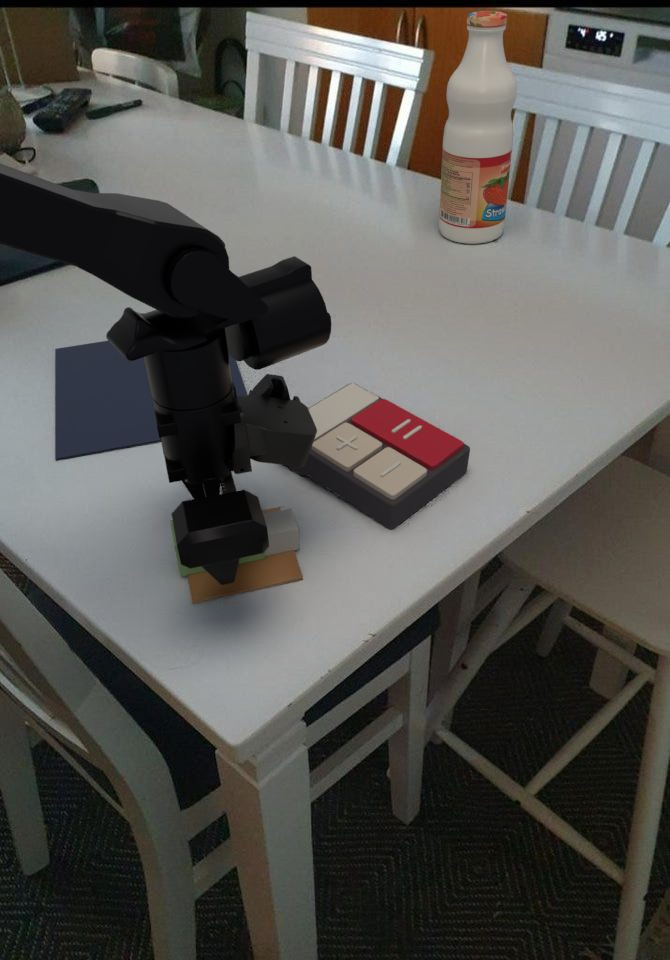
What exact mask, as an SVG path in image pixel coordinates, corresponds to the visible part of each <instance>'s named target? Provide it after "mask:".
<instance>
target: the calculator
mask: <svg viewBox="0 0 670 960" xmlns="http://www.w3.org/2000/svg"><path fill="white" fill-rule="evenodd" d="M307 408H308V410H309V412H310V414H311V417H312V419H313V421H314V424H315V426H316V428H317V433H316V436H315V439H314V442H313V445H312V448H311V451H310V453H309V456H308V459H307V462H306V465H305V466H304V467H302V468H292V467H290V466H289V465H285V466H286V467H287V468H288V469H290V470H291V471H293V472H294V473H296V474H298V475H299V476H308V477H309V478H311V479H313V480H314V481H316V482H317V483H318V484H319V485H322V486H323V487H325V488H326V489H328V490H329V491H331V492H332V493H334V494H335V495H337V496H338V497H340V498H341V499H343V500H345V501H346V502H347V503H349V504H350V505H352V506H354V507H355V508H356V509H358V510H359V511H361V512H363V513H364V514H366V515H367V516H369V517H370V518H372V519H373V520H374V521H377V522H378V523H380V525H382V526H384V527H386V528H387V529H390V530H394V529H395V528H397V527H398V526H400V525H401V524H402V523H403V522H405V521H406V520H407V519H409V518H410V517H411V516H412V515H414V514H415V513H416V512H418V511H419V510H420V509H421V508H422V507H424V506H425V505H426V504H428V503H430V502H431V500H433V499H434V498H436V497H437V496H438V495H440V494H441V493H442V492H444V491H445V490H446V489H447V488H449V487H450V486H451V485H452V484H454V483H455V482H456V481H458V480H459V479H461V477H463V476H464V475H466V473H467V472H468V466H469V459H470V452H471V447H470V445H468V444H466V443H465V442H464V441H463V440H461V439H459V438H458V437H456V436H454V435H452V434H450V433H448V432H446V431H445V430H443V429H441V428H440V427H437V426H435V425H434V424H433V423H430V422H428V421H426V420H424V419H423V418H421V417H419V416H417V415H415V414H414V413H412V412H410V411H408V410H406V409H405V408H402V407H401V406H399V405H397V404H395V403H394V402H392V401H390V400H388V399H385V398H383V397H380V396H378V395H377V394H375V393H373V392H371V391H369V390H367V389H366V388H364V387H363V386H361V385H358V384H357V383H355V382H350V383H348V384H346V385H344V386H343V387H341V388H340V389H338V390H337V391H335V392H333V393H331V394H330V395H328V396H327V397H324V398H323V399H322V400H321V399H320V401H318V402H317V403H314V404H312V405H311V406H310V407H307Z"/></svg>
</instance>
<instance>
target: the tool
mask: <svg viewBox="0 0 670 960" xmlns="http://www.w3.org/2000/svg"><path fill="white" fill-rule="evenodd" d="M263 515H264V519H265V522H266V525H267V531H268V539H269V547H268V548H267V549H266V551H265V552H264V553H262V554H258V555H253V556H248V557H243V558H240V560H239V564H242V563H247V562H251V561H256V560H261V559H265V556H268V555H273V554H278V553H283V552H287V551H292V550H294V551H297V550H301V549H300V537H299V527H298V524H297V521H296V519H295V515H294V513H293V510H292V508H286V509H281V510H280V511H275V512H270V513H265V514H263ZM169 522H170V526H171V527H170V528H171V534H172V541H173V546H174V552H175V555H176V560H177V565H178V569H179V574H180V576H181V577H185V576H187V575H190V574H195V573H200V572H204V571H206V570H205V569H203V568H202V567H201V566H200V567H196V568H191V569H190V568H187V567H185V566H183V565H181V562H180V558H179V553H178V549H177V544H176V538H175V532H174V526H173V520H172V519H171V520H170V521H169Z"/></svg>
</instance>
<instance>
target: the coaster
mask: <svg viewBox="0 0 670 960" xmlns="http://www.w3.org/2000/svg"><path fill="white" fill-rule="evenodd" d="M280 510H282V509H281V507H280V506H276V507H272V508H266V509H262V512H263V514H265V513H270V512H275V511H280ZM186 576H187V582H188V587H189V592H190V597H191V599H190V600H191V603H192V604H197V603H201V602H207V601H210V600H215V599H219V598H224V597H228V596H229V597H230V596H232V595H238V594H244V593H247V592H252V591H257V590H262V589H266V588H271V587H274V586H275V587H276V586H280V585H284V584H288V583H294V582H298V581H302V580H304V577H303V576H304V575H303V573H302V570H301V567H300V563H299V560H298V558H297V555H296V552H295V550H292V551H287V552H283V553H278V554H273V555H268V556H265V559H261V560H256V561H251V562H247V563H242V564H239V565H238V569H237V573H236V578H235V581H234V582H233V583H230V584H225V585H221V584H220V583H219V582H218V581H216V580H215V579H214V578H213V577H212V576H211V575H210V574H209V573H208V572H207V571H204V572H200V573H195V574H190V575H186Z"/></svg>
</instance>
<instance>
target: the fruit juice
mask: <svg viewBox="0 0 670 960" xmlns="http://www.w3.org/2000/svg"><path fill="white" fill-rule="evenodd" d="M507 24H508V14H507V13H506V12H503V11H497V10H479V11H473V12H470V13H468V15H467V18H466V29H467V31H468V39H467V44H466V47H465V51H464V54H463V56H462V58H461V61H460V63H459V65H458V66H457V68H456V69H455V70H454V71H453V73H452V74H451V75H450V77H449V80H448V82H447V86H446V96H445V97H446V103H447V108H448V117H447V120H446V121H445V125H444V129H443V137H442V154H441V155H442V156H441V175H440V179H441V180H440V196H439V216H438V229H439V233H440V234H441V236H443V237H444V238H445V239H446V240H449V241H451V242H455V243H459V244H467V245H468V244H469V245H470V244H471V245H472V244H473V245H474V244H486V243H489V242H492V241H495V240H496V239H498V238H500V237H501V236H502V234H503V233H504V228H505V224H506V223H505V222H506V213H507V202H508V194H509V185H510V172H511V165H512V163H511V162H512V154H513V148H514V147H513V146H514V123H513V121H512V112H513V111H512V110H513V108H514V105H515V103H516V99H517V94H518V82H517V79H516V77H515V75H514V73H513V70H512V69H511V67H510V66H509V64H508V62H507V59H506V53H505V47H504V32H505V30H506V29H507Z"/></svg>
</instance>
